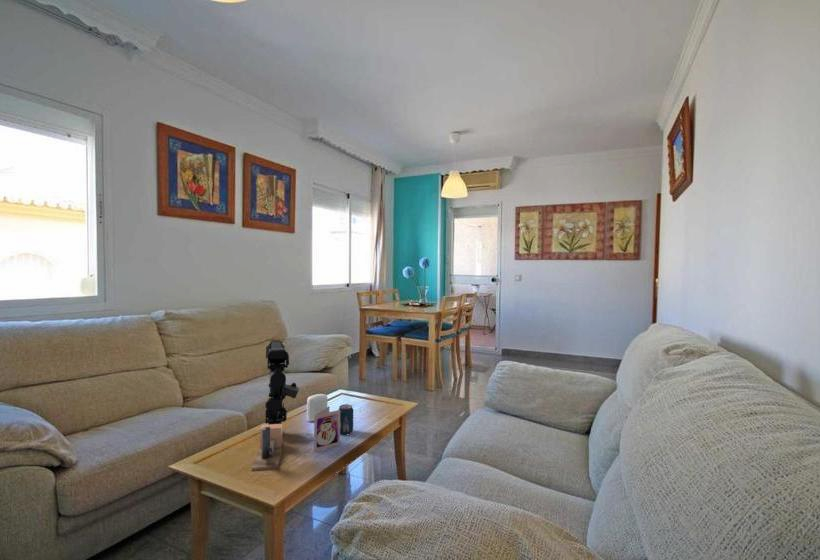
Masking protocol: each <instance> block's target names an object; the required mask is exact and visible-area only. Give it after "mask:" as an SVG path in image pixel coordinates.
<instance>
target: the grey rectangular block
mask: <svg viewBox="0 0 820 560" xmlns="http://www.w3.org/2000/svg"><path fill="white" fill-rule="evenodd" d="M270 449H272V450H271V454H270V457H269V459H271V458H273V456H274V453H275V449H276V439H270ZM261 459H262V448H261Z"/></svg>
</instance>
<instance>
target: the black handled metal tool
mask: <svg viewBox="0 0 820 560" xmlns="http://www.w3.org/2000/svg"><path fill="white" fill-rule="evenodd" d="M271 450H272V449H270V427H264V428H262V459H263V460H268V459H269V457H270V454H271Z"/></svg>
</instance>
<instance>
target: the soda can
mask: <svg viewBox="0 0 820 560" xmlns="http://www.w3.org/2000/svg"><path fill="white" fill-rule="evenodd" d="M338 410H340V434H342V435H341V436H348V435H347V434H349V435H351V434H352V433H353V431H354V408H353V406H352V405H351V404H347V403H346V404H341V405H339V408H338ZM350 433H351V434H350Z"/></svg>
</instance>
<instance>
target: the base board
mask: <svg viewBox="0 0 820 560" xmlns="http://www.w3.org/2000/svg"><path fill="white" fill-rule="evenodd" d="M283 447H284V441H282V445H281V447H279V448H276V449H275V453H274V456H273V458H271V459H268V460H263V459H261V449H260V446H259V447H258V450H257V453H256V455H255V458H254V460H253V463H252V466H251V471H262V470H264V471H265V470H272V469H273V470H274V469H278V467H279V463H280V460H281V456H282V451H283Z"/></svg>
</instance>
